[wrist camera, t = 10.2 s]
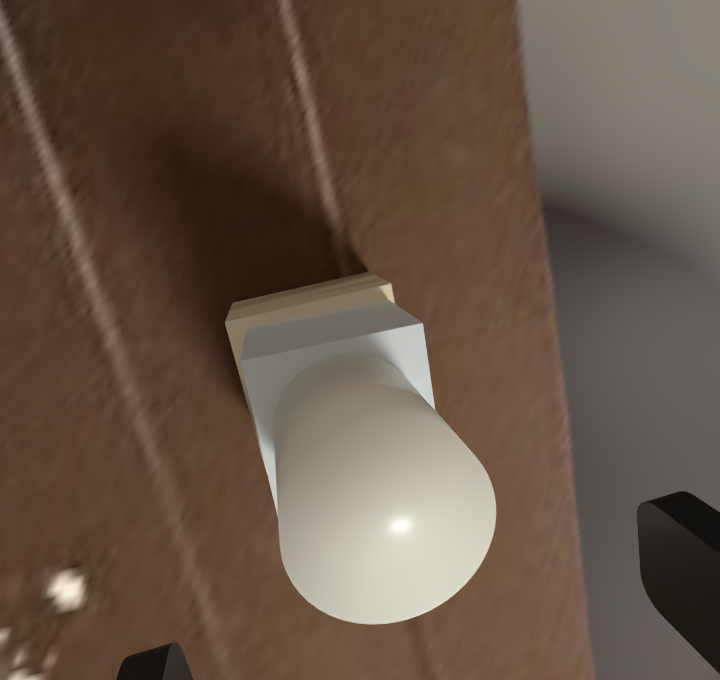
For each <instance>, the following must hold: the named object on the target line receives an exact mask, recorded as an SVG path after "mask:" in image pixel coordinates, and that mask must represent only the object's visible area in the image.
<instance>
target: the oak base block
mask: <svg viewBox="0 0 720 680" xmlns="http://www.w3.org/2000/svg"><path fill="white" fill-rule="evenodd" d="M385 300H390V301H391V302H393V303H394V304H395V302H394V297H393V292H392V286H391V283H389V282H387V281H385V280H383V279H382V278H380V277H378V276H376V275H374V274H372V273H370V272H366V273H361V274H357V275H353V276H348V277H344V278H339V279H335V280H331V281H326V282H322V283H318V284H313V285H309V286H304V287H300V288H296V289H291V290H287V291H282V292H278V293H274V294H269V295H265V296H260V297H256V298H252V299H247V300H243V301H239V302H234V303H232V306H231V308H230V310H229V313H228V315H227V318H226V320H225V325H226V329H227V332H228V336H229V340H230V343H231V347H232V350H233V354H234V357H235V361H236V365H237V368H238V372H239V375H240V379H241V383H242V386H243V390H244V393H245V397H246V400H247V404H248V408H249V411H250V415H251V418H252V422H253V425H254V429H255V433H256V436H257V440H258V443H259V447H260V450H261V454H262V458H263V461H264V457H263V453H262V449H261V445H260V441H259V437H258V433H257V428H256V424H255V420H254V416H253V412H252V408H251V403H250V399H249V395H248V391H247V387H246V383H245V379H244V374H243V370H242V366H241V362H240V360H241V355H242V350H243V345H244V339H245V334H246V329H247V328H251V327H256V326H261V325H266V324H271V323H276V322H281V321H286V320H291V319H296V318H301V317H306V316H311V315H316V314H321V313H326V312H331V311H336V310H341V309H345V308H350V307H355V306H360V305H365V304H370V303H375V302H380V301H385ZM264 465H265V462H264ZM265 468H266V466H265ZM266 472H267V470H266Z"/></svg>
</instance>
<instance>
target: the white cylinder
mask: <svg viewBox="0 0 720 680" xmlns="http://www.w3.org/2000/svg"><path fill="white" fill-rule="evenodd" d="M273 428H274V450H275V468H276V486H277V505H278V523H279V541H280V551H281V556H282V561H283V564H284V567H285V570H286V572H287V574H288V576H289V578H290V580H291V582H292V583H293V585H294V586H295V587H296V589H297V590H298V592H299V593H300V594H301V595H302V596H303V597H304V598H305V599H306V600H307V601H308V602H309V603H311V604H312V605H314V606H315V607H316V608H318V609H319V610H321V611H323V612H325V613H327V614H328V615H330V616H333V617H336V618H338V619H341V620H345V621H349V622H353V623H361V624H386V623H394V622H399V621H403V620H407V619H410V618H413V617H416V616H419V615H421V614H423V613H425V612H428V611H430V610H432V609H434V608H435V607H437V606H439V605H440V604H442V603H444V602H445V601H446V600H448V599H449V598H450V597H452V596H453V595H454V594H456V593H457V592H458V591H459V590H460V589H461V588H462V587H463V586H464V585H465V584H466V583H467V582H468V581H469V579H470V578H471V577H472V576H473V575H474V573H475V572H476V570H477V569H478V567H479V566H480V564H481V563H482V561H483V559H484V557H485V555H486V553H487V551H488V549H489V546H490V543H491V541H492V537H493V533H494V529H495V521H496V501H495V496H494V490H493V487H492V484H491V481H490V479H489V476H488V474H487V473H486V471H485V469H484V467H483V466H482V464H481V463H480V462H479V460H478V459H477V458H476V456H475V455H474V454H473V453H472V452H471V451H470V450H469V448H468V447H467V446H466V445H465V444H464V443H463V442H462V440H461V439H460V438H459V437H458V436H457V435H456V434H455V433H454V431H453V430H452V429H451V428H450V427H449V426H448V425H447V423H446V422H445V421H444V420H443V419H442V418H441V417H440V416H439V414H438V413H437V412H436V411H435V410H434V409H433V408H432V406H431V405H430V404H429V403H428V402H427V401H426V400H425V399H424V397H423V396H422V395H421V394H420V393H419V392H418V391H417V390H416V388H415V387H414V386H413V385H412V384H411V383H410V382H409V380H408V379H407V378H406V377H405V376H404V375H403V374H402V373H401V372H400V371H399V370H398V369H396V368H395V367H394V366H392V365H391V364H389V363H387V362H386V361H384V360H381V359H379V358H376V357H373V356H369V355H365V354H355V353H354V354H340V355H334V356H331V357H327V358H324V359H322V360H320V361H317V362H315V363H314V364H312V365H310V366H309V367H307V368H306V369H304V370H303V371H302V372H300V373H299V374H298V375H297V376H296V377H295V378H294V379H293V380H292V381H291V383H290V384H289V385H288V386H287V388H286V389H285V391H284V392H283V394H282V396H281V398H280V400H279V403H278V405H277V408H276V412H275V416H274V424H273Z"/></svg>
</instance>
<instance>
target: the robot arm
mask: <svg viewBox="0 0 720 680" xmlns="http://www.w3.org/2000/svg"><path fill="white" fill-rule="evenodd" d="M637 523H638V539H639V555H640V572H641V578H642V582H643V585H644V588H645V590H646V593H647V595H648V597H649V598H650V600H651V602H652V603H653V605H654V606H655V608H656V609H657V610H658V612H659V613H660V614H661V615H662V616H663V617H664V618H665V619H666V620H667V621H668V622H669V623H670V624H671V625H672V626H673V627H674V628H675V629H676V630H677V631H678V632H679V633H680V634H681V635H682V636H683V637H684V638H685V639H686V640H687V641H688V642H689V643H690V644H691V645H692V646H693V647H694V648H695V649H696V650H697V651H698V652H699V653H700V654H701V656H702V657H703V658H704V659H705V660H707V662H708V663H709V664H710V665H711V666H712V667H713V668H714V669H715V670H716V671H717V672H718V673H719V674H720V512H718V511H717V510H715V509H714V508H712V507H711V506H709V505H708V504H706V503H705V502H703V501H702V500H700V499H699V498H697V497H696V496H694V495H692V494H691V493H688V492H685V491H679V492H676V493H672V494H669V495H666V496H663V497H659V498H656V499H653V500H649V501H646V502H643V503H641V504H640V505H639V507H638V510H637ZM116 680H193V678H192V675H191V672H190V670H189V667H188V664H187V661H186V659H185V656H184V653H183V651H182V648H181V647H180V645H179V644H178V643H176V642H174V643H170V644H167V645H164V646H160V647H157V648H154V649H150V650H147V651H144V652H140V653H137V654H134V655H130V656H128V657H126V658H125V659H124V661H123V662H122V664H121V667H120V670H119V673H118V676H117V679H116Z"/></svg>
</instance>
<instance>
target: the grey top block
mask: <svg viewBox="0 0 720 680" xmlns="http://www.w3.org/2000/svg"><path fill="white" fill-rule="evenodd" d="M354 353H355V354H365V355H369V356H373V357H376V358H379V359H381V360H384V361H386V362H387V363H389V364H391V365H392V366H394V367H395V368H396V369H398V370H399V371H400V372H401V373H402V374H403V375H404V376H405V377H406V378H407V379H408V380H409V382H410V383H411V384H412V385H413V386H414V387H415V388H416V390H417V391H418V392H419V393H420V394H421V395H422V396H423V397H424V399H425V400H426V401H427V402H428V403H429V404H430V405H431V406H432V408H433V409H434V410H435V406H434V399H433V392H432V385H431V378H430V371H429V364H428V357H427V350H426V343H425V336H424V329H423V323H422V322H420V321H419V320H417V319H416V318H415V317H413V316H412V315H410V314H409V313H407V312H406V311H404V310H403V309H401V308H400V307H398V306H397V305H396V304H394V303H393V302H391V301H390V300H385V301H380V302H375V303H370V304H365V305H360V306H355V307H350V308H345V309H341V310H336V311H331V312H326V313H321V314H316V315H311V316H306V317H301V318H296V319H291V320H286V321H281V322H276V323H271V324H266V325H261V326H256V327H251V328H247V329H246V334H245V339H244V345H243V350H242V355H241V360H240V362H241V366H242V370H243V374H244V379H245V383H246V387H247V391H248V395H249V399H250V403H251V408H252V412H253V416H254V420H255V424H256V428H257V433H258V437H259V441H260V445H261V449H262V453H263V457H264V462H265V466H266V470H267V474H268V478H269V482H270V486H271V491H272V495H273V499H274V503H275V507H276V511H277V516H278V505H277V486H276V468H275V450H274V428H273V424H274V416H275V412H276V408H277V405H278V403H279V400H280V398H281V396H282V394H283V392H284V391H285V389H286V388H287V386H288V385H289V384H290V383H291V381H292V380H293V379H294V378H295V377H296V376H297V375H298V374H299V373H300V372H302V371H303V370H304V369H306V368H307V367H309V366H310V365H312V364H314V363H315V362H317V361H320V360H322V359H324V358H327V357H331V356H334V355H340V354H354Z"/></svg>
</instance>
